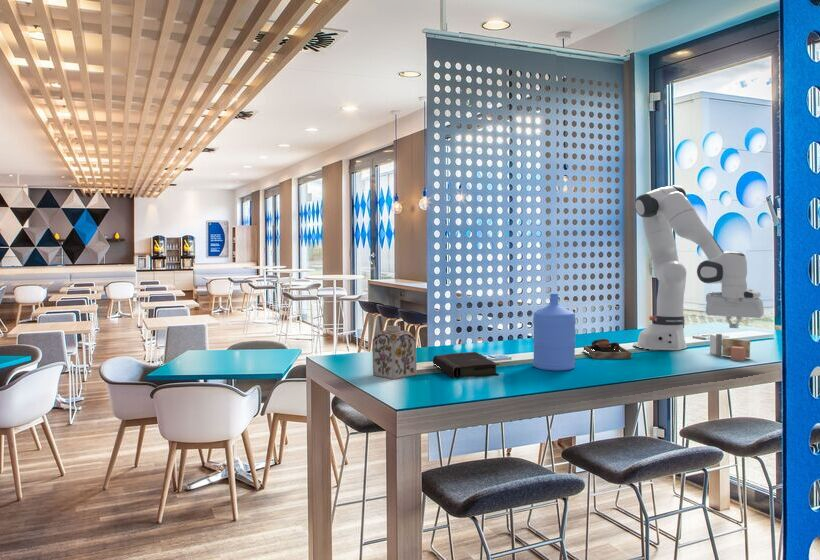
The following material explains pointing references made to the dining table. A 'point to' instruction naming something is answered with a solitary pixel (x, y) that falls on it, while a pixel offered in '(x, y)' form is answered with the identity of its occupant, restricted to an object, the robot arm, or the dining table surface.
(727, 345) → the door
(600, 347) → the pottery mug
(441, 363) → the diary
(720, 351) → the light grey slab
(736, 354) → the salmon pink block
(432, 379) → the dining table surface
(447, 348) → the dining table surface
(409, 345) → the decorative jar
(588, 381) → the dining table surface
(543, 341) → the water jug
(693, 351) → the dining table surface
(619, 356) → the frame
